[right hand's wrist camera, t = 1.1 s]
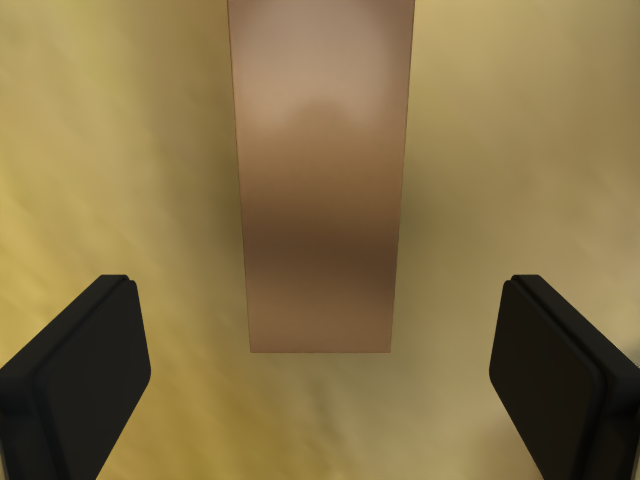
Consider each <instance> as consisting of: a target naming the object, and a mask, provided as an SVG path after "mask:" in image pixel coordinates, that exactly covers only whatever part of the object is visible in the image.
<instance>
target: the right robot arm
mask: <svg viewBox="0 0 640 480" xmlns="http://www.w3.org/2000/svg"><path fill="white" fill-rule="evenodd" d="M150 376H151V366H150V360H149V354H148V349H147V343H146V337H145V331H144V325H143V319H142V313H141V308H140V302H139V296H138V290H137V285H136V283H135V281H134V280H129V278H128V276H127V275H101V276H99V277H98V278H97V279H96V280H95V281H94V282H93V283H92V284H91V285H90V286H89V287H88V288H86V289H85V290H84V291H83V292H82V293H81V294H80V295H79V296H78V297H77V298H76V299H75V300H74V301H73V302H72V303H70V304H69V305H68V306H67V307H66V308H65V309H64V310H63V311H62V312H61V313H60V314H59V315H58V316H57V317H55V318H54V319H53V320H52V321H51V322H50V323H49V324H48V325H47V326H46V327H45V328H44V329H43V330H42V331H40V332H39V333H38V334H37V335H36V336H35V337H34V338H33V339H32V340H31V341H30V342H29V343H28V344H27V345H25V346H24V347H23V348H22V349H21V350H20V351H19V352H18V353H17V354H16V355H15V356H14V357H13V358H12V359H11V360H9V361H8V362H7V363H6V364H5V365H4V366H3V367H2V368H1V369H0V480H96V478H97V476H98V474H99V472H100V471H101V469H102V467H103V465H104V463H105V462H106V460H107V458H108V456H109V454H110V452H111V451H112V449H113V447H114V445H115V443H116V441H117V440H118V438H119V436H120V434H121V432H122V431H123V429H124V427H125V425H126V423H127V421H128V420H129V418H130V416H131V414H132V412H133V410H134V409H135V407H136V405H137V403H138V401H139V400H140V398H141V396H142V394H143V392H144V390H145V389H146V387H147V385H148V383H149V380H150ZM489 376H490V380H491V383H492V385H493V387H494V389H495V390H496V392H497V394H498V396H499V398H500V400H501V401H502V403H503V405H504V407H505V409H506V410H507V412H508V414H509V416H510V418H511V420H512V421H513V423H514V425H515V427H516V429H517V431H518V432H519V434H520V436H521V438H522V440H523V441H524V443H525V445H526V447H527V449H528V451H529V452H530V454H531V456H532V458H533V460H534V462H535V463H536V465H537V467H538V469H539V471H540V472H541V474H542V476H543V478H544V480H640V369H639V368H638V367H637V366H636V365H635V364H634V363H633V362H632V361H631V360H629V359H628V358H627V357H626V356H625V355H624V354H623V353H622V352H621V351H620V350H619V349H618V348H617V347H616V346H615V345H613V344H612V343H611V342H610V341H609V340H608V339H607V338H606V337H605V336H604V335H603V334H602V333H601V332H600V331H598V330H597V329H596V328H595V327H594V326H593V325H592V324H591V323H590V322H589V321H588V320H587V319H586V318H585V317H583V316H582V315H581V314H580V313H579V312H578V311H577V310H576V309H575V308H574V307H573V306H572V305H571V304H570V303H568V302H567V301H566V300H565V299H564V298H563V297H562V296H561V295H560V294H559V293H558V292H557V291H556V290H555V289H554V288H552V287H551V286H550V285H549V284H548V283H547V282H546V281H545V280H544V279H543V278H542V277H541V276H539V275H513V276H512V278H511V280H506V281H505V283H504V285H503V290H502V296H501V302H500V308H499V313H498V319H497V325H496V331H495V337H494V343H493V349H492V354H491V360H490V366H489Z"/></svg>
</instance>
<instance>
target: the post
mask: <svg viewBox="0 0 640 480" xmlns="http://www.w3.org/2000/svg"><path fill="white" fill-rule="evenodd" d="M414 8H415V0H227V9H228V24H229V39H230V54H231V69H232V84H233V99H234V114H235V129H236V144H237V159H238V174H239V189H240V204H241V219H242V233H243V248H244V263H245V278H246V293H247V308H248V323H249V338H250V352H251V353H390V352H391V338H392V324H393V310H394V295H395V281H396V267H397V252H398V238H399V224H400V209H401V195H402V181H403V166H404V152H405V137H406V123H407V109H408V94H409V80H410V66H411V51H412V37H413V23H414Z"/></svg>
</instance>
